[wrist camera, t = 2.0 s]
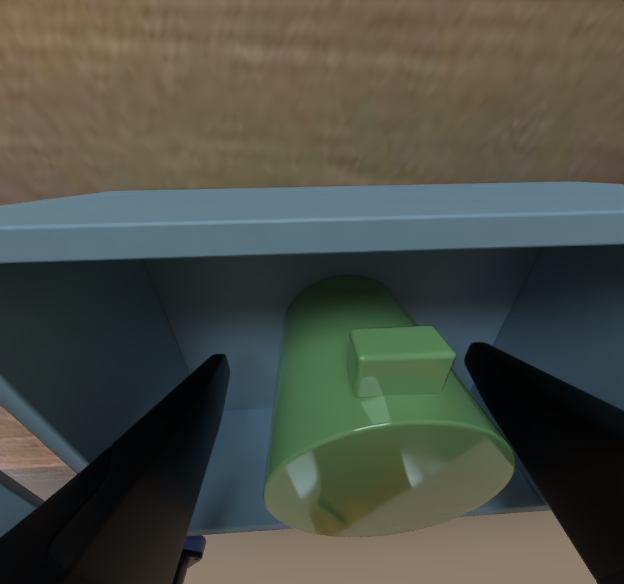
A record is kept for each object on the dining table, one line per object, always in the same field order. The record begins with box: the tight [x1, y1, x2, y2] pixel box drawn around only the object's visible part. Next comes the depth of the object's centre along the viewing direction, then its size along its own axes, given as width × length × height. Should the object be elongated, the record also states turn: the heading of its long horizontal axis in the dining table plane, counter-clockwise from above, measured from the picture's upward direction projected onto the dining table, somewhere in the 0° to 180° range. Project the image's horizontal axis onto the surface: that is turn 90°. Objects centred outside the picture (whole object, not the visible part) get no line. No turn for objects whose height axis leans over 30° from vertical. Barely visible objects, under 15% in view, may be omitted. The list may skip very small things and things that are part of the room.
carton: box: [0, 181, 624, 536], centre depth 8 cm, size 15×11×5 cm
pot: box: [263, 275, 516, 537], centre depth 7 cm, size 7×5×6 cm
